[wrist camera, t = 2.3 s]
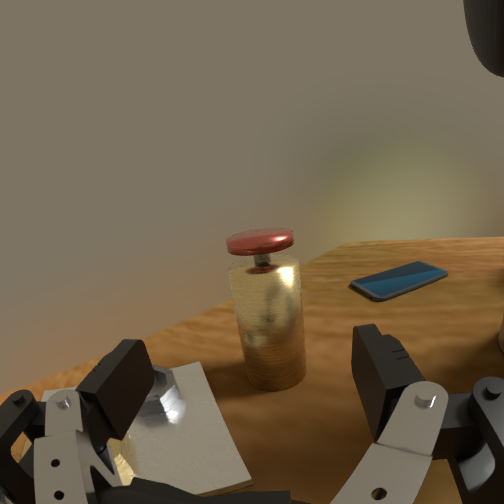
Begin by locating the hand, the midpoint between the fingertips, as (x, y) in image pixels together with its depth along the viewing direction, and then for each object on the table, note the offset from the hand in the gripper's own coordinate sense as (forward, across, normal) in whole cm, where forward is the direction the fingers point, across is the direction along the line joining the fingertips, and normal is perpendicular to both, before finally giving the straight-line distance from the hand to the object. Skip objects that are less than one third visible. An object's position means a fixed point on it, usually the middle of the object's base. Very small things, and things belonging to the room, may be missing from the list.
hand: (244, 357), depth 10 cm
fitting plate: (+3, +12, +10) cm, 16 cm away
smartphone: (+28, -19, +10) cm, 35 cm away
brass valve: (+12, 0, +10) cm, 15 cm away
